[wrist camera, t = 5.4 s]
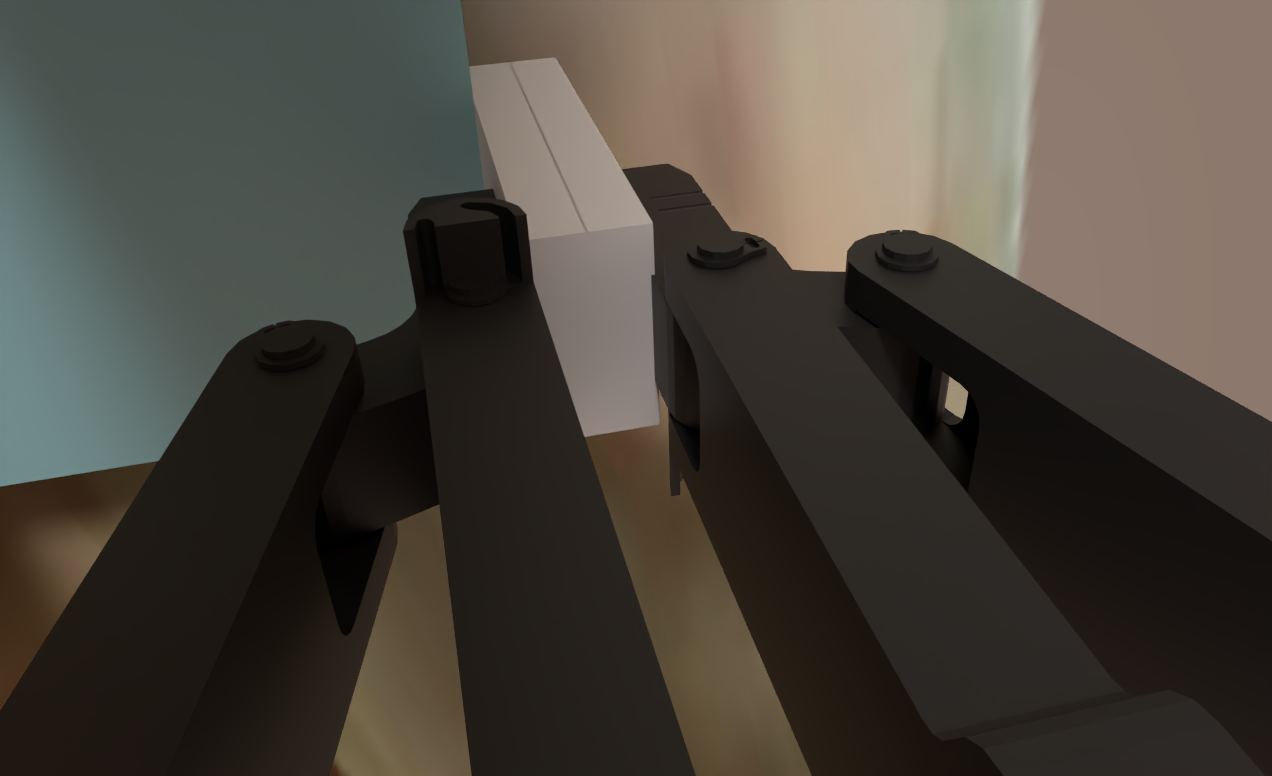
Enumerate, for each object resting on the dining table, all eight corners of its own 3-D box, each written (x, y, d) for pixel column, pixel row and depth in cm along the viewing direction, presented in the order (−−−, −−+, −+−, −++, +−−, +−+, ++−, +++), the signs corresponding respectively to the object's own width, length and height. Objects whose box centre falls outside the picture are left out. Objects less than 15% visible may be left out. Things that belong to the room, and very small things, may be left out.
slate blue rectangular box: (-113, 410, 19) (-180, 515, 16) (-366, -63, 14) (-512, -15, 12) (492, 321, 21) (512, 403, 18) (433, -124, 16) (448, -93, 14)
